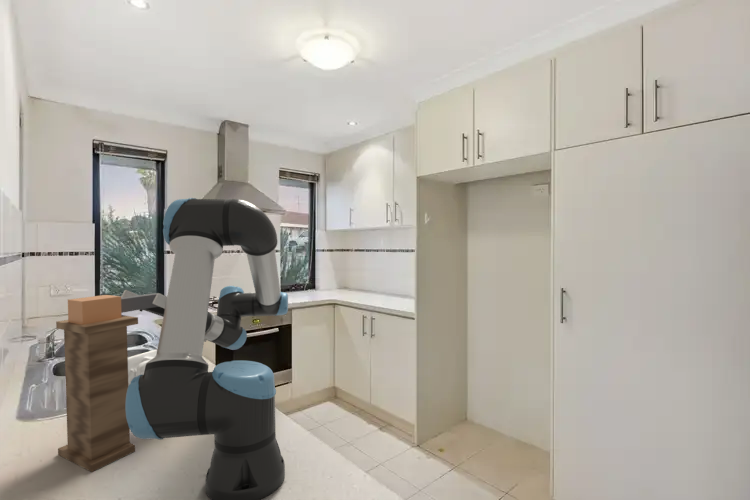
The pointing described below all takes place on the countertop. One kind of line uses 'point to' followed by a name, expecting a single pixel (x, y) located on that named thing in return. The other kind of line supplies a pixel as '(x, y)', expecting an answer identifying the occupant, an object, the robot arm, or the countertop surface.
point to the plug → (106, 307)
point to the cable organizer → (139, 364)
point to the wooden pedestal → (96, 392)
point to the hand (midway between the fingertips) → (138, 296)
